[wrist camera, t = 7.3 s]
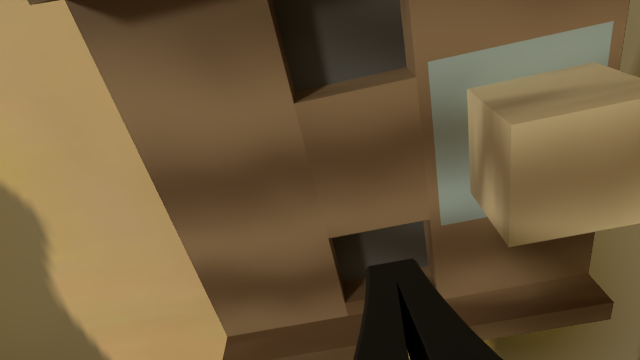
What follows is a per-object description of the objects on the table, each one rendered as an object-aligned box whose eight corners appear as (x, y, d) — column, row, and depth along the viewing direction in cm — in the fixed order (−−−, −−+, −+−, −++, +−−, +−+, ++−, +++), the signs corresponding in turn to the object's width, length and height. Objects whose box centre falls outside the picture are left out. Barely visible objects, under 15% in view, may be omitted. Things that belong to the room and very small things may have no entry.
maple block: (581, 171, 18) (647, 222, 15) (470, 192, 18) (508, 247, 15) (594, 62, 16) (677, 91, 12) (466, 89, 16) (511, 124, 13)
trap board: (565, 265, 23) (610, 319, 20) (239, 323, 25) (228, 381, 22) (615, -178, 14) (720, -226, 10) (76, -39, 15) (7, -39, 12)
